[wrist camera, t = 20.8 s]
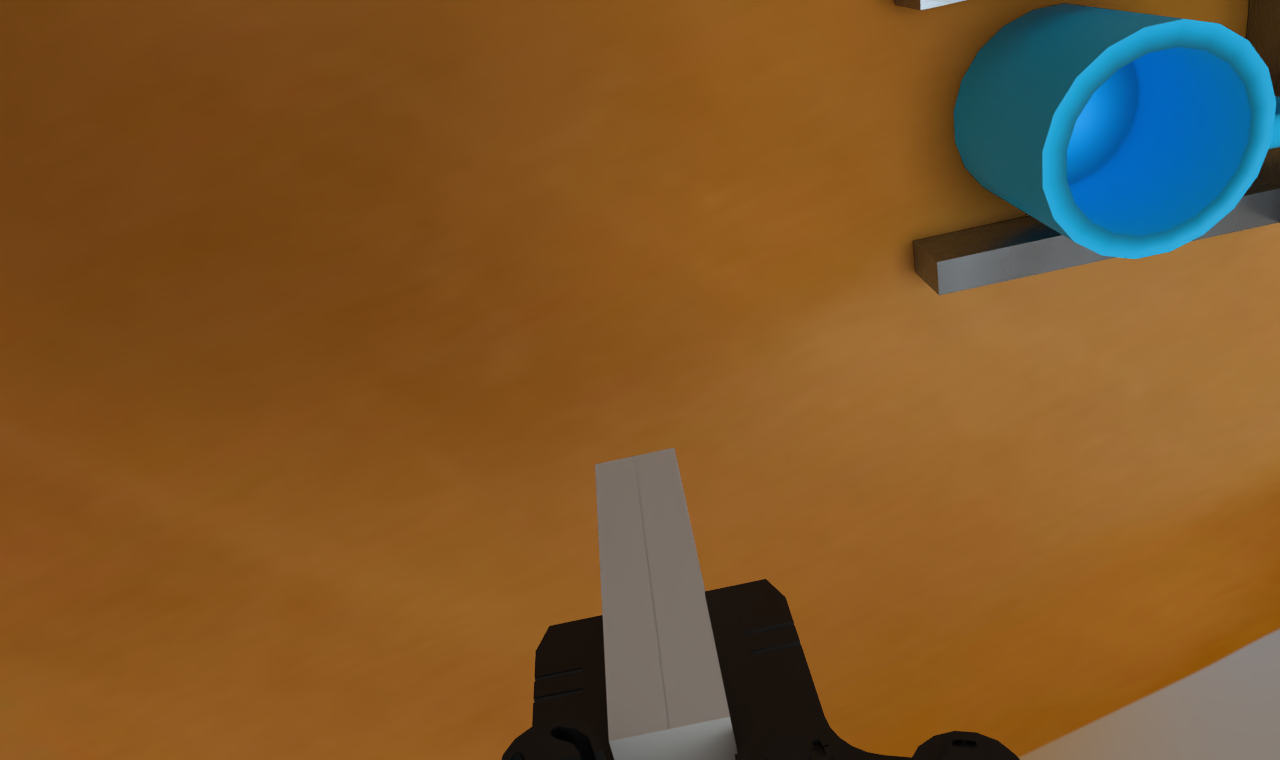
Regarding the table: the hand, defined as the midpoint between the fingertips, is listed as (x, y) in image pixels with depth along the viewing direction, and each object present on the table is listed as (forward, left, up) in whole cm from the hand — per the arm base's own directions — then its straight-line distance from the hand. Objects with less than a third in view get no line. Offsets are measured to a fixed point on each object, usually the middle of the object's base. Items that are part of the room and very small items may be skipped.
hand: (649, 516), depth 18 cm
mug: (+1, +21, -25) cm, 32 cm away
